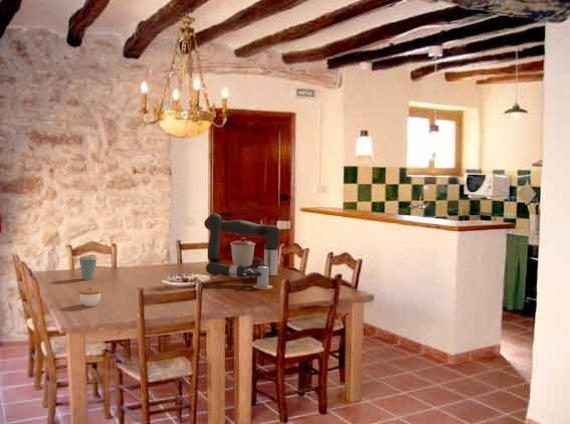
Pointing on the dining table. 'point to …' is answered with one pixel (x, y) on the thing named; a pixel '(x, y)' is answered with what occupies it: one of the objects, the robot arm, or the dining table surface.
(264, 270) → the silver soda can
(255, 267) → the ice cream bowl
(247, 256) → the canister
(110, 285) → the dining table surface
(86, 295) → the lidded jar
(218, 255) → the robot arm
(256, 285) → the cork mat
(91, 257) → the disposable coffee cup
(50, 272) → the dining table surface
